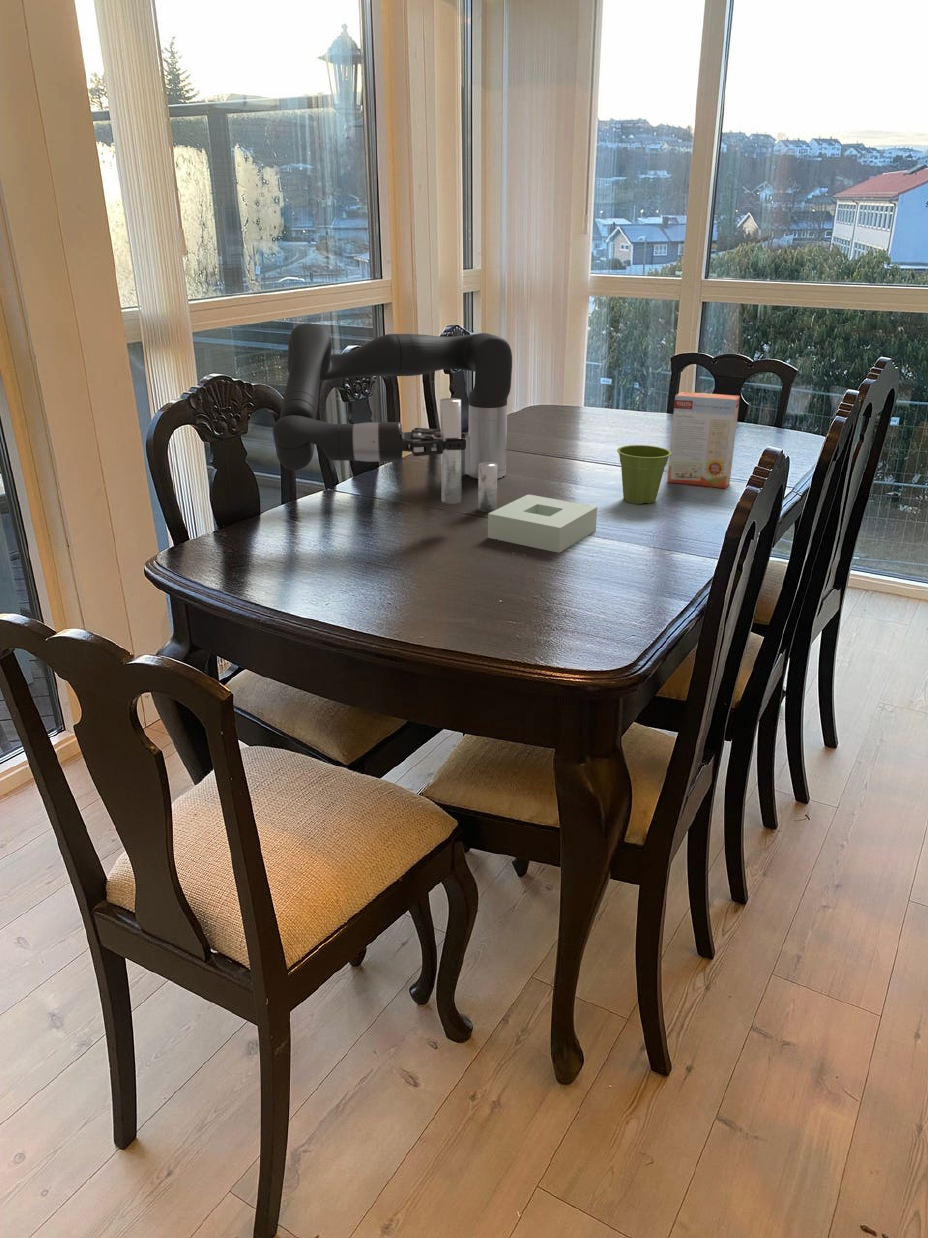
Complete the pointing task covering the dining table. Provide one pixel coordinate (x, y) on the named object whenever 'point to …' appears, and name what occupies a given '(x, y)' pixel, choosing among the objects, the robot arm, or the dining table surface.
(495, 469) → the short steel pin
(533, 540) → the hole block
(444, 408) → the long steel pin
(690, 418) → the cracker box
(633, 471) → the plant pot
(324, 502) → the dining table surface
